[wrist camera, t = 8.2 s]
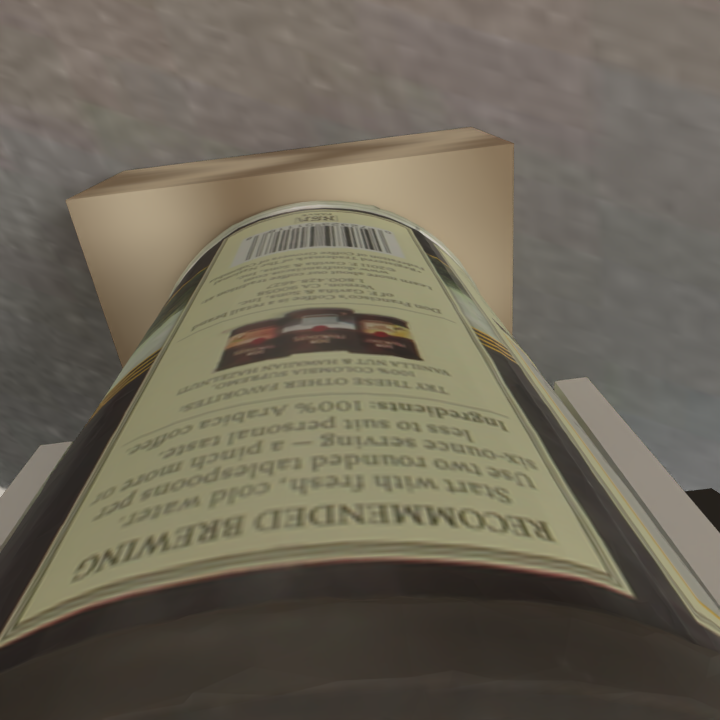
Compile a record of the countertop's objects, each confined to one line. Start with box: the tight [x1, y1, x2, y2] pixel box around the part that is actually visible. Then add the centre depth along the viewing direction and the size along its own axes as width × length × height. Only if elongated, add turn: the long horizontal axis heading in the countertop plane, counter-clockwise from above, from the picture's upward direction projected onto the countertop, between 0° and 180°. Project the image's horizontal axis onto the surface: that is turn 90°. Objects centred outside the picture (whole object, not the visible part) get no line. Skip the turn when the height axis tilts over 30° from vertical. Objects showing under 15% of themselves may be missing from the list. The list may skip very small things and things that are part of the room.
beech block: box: [66, 127, 514, 368], centre depth 20 cm, size 12×12×5 cm
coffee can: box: [0, 201, 720, 720], centre depth 12 cm, size 10×10×14 cm
